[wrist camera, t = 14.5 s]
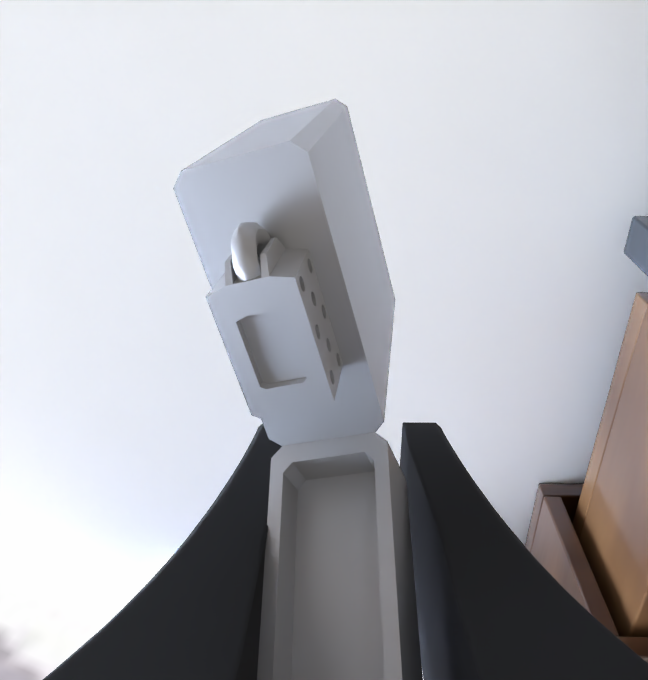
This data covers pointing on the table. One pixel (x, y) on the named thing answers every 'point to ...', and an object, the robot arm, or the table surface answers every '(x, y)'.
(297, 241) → the lighter
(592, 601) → the cabinet
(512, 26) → the table surface
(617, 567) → the drawer
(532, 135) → the table surface
